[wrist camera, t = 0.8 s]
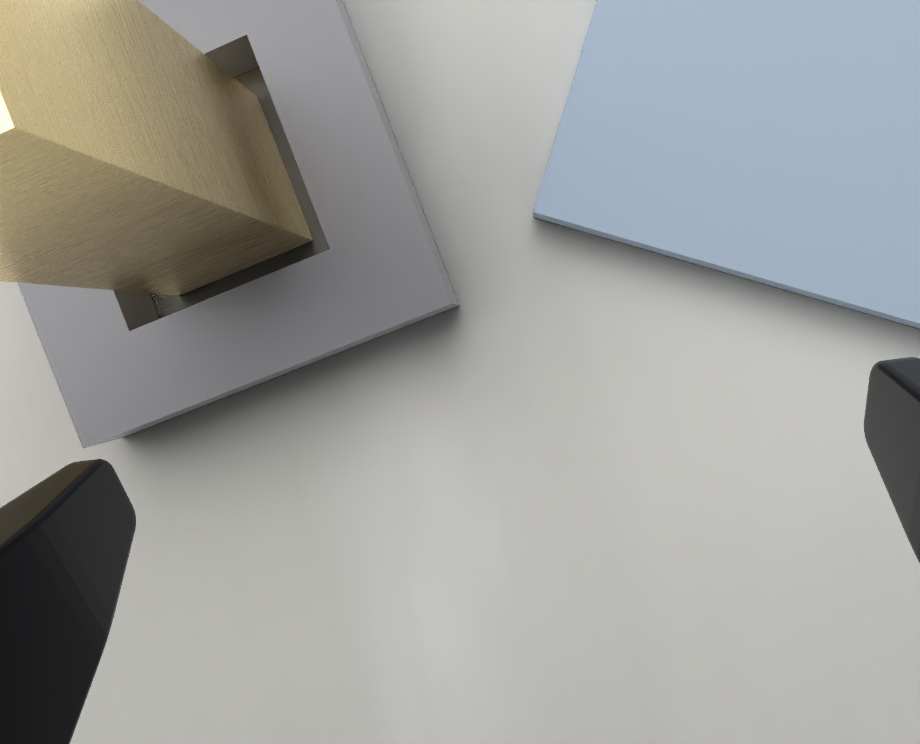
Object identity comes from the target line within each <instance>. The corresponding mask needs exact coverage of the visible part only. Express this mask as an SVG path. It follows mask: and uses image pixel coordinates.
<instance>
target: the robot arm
mask: <svg viewBox="0 0 920 744" xmlns="http://www.w3.org/2000/svg"><path fill="white" fill-rule="evenodd" d="M864 432H865V437H866V441H867V444H868V447H869V449H870V451H871V454H872V456H873V458H874V461H875V463H876V465H877V468H878V470H879V472H880V475H881V477H882V479H883V482H884V484H885V486H886V489H887V491H888V493H889V496H890V498H891V500H892V503H893V505H894V507H895V510H896V512H897V514H898V517H899V519H900V521H901V524H902V526H903V528H904V531H905V533H906V535H907V537H908V540H909V542H910V544H911V546H912V548H913V550H914V553H915V555H916V557H917V559H918V561H919V562H920V359H919V358H914V357H908V358H900V359H893V360H885V361H879V362H877V363H876V364H875V365H874V366H873V367H872V370H871V372H870V377H869V385H868V393H867V402H866V410H865V418H864ZM135 527H136V515H135V511H134V508H133V506H132V504H131V502H130V500H129V498H128V496H127V494H126V492H125V490H124V488H123V486H122V484H121V482H120V480H119V478H118V476H117V474H116V472H115V470H114V468H113V467H112V465H111V464H110V463H109V462H107V461H105V460H102V459H96V460H88V461H80V462H74V463H71V464H68V465H67V466H65V467H64V468H62V469H60V470H59V471H57V472H56V473H54V474H53V475H51V476H50V477H48V478H46V479H45V480H43V481H42V482H40V483H39V484H37V485H35V486H34V487H32V488H31V489H29V490H28V491H26V492H25V493H23V494H21V495H20V496H18V497H17V498H15V499H14V500H12V501H10V502H9V503H7V504H6V505H4V506H3V507H1V508H0V744H70V741H71V738H72V736H73V733H74V730H75V728H76V725H77V722H78V719H79V717H80V714H81V711H82V708H83V706H84V703H85V700H86V697H87V695H88V692H89V689H90V686H91V684H92V681H93V678H94V676H95V673H96V670H97V667H98V665H99V662H100V659H101V656H102V653H103V650H104V647H105V644H106V641H107V638H108V635H109V631H110V628H111V624H112V621H113V617H114V613H115V609H116V605H117V601H118V597H119V593H120V589H121V585H122V581H123V577H124V573H125V569H126V565H127V561H128V557H129V553H130V549H131V545H132V541H133V537H134V532H135Z"/></svg>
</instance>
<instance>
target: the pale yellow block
mask: <svg viewBox="0 0 920 744" xmlns="http://www.w3.org/2000/svg"><path fill="white" fill-rule="evenodd" d="M310 241H313V238H312V236H311V233H310V231H309V228H308V225H307V223H306V220H305V218H304V215H303V212H302V210H301V207H300V205H299V202H298V200H297V197H296V194H295V192H294V189H293V187H292V184H291V181H290V179H289V176H288V174H287V171H286V168H285V166H284V163H283V161H282V158H281V156H280V153H279V150H278V148H277V145H276V143H275V140H274V137H273V135H272V132H271V130H270V127H269V125H268V122H267V119H266V117H265V114H264V112H263V109H262V106H261V104H260V101H259V99H258V97H257V96H255V95H254V94H253V93H252V92H250V91H249V90H248V89H247V88H246V87H244V86H243V85H242V84H241V83H239V82H238V81H237V80H236V79H234V78H233V77H232V76H231V75H229V74H228V73H227V72H226V71H225V70H223V69H222V68H221V67H220V66H218V65H217V64H216V63H215V62H213V61H212V60H211V59H210V58H208V57H207V56H206V55H205V54H204V53H202V52H201V51H200V50H199V49H197V48H196V47H195V46H194V45H192V44H191V43H190V42H189V41H188V40H186V39H185V38H184V37H183V36H181V35H180V34H179V33H178V32H176V31H175V30H174V29H173V28H171V27H170V26H169V25H168V24H167V23H165V22H164V21H163V20H162V19H160V18H159V17H158V16H157V15H155V14H154V13H153V12H152V11H150V10H149V9H148V8H147V7H146V6H144V5H143V4H142V3H141V2H139V1H138V0H0V281H8V282H20V283H32V284H43V285H55V286H67V287H79V288H91V289H103V290H115V291H127V292H139V293H151V294H163V295H175V296H179V295H182V294H184V293H187V292H189V291H192V290H194V289H196V288H199V287H201V286H204V285H206V284H209V283H211V282H213V281H216V280H218V279H221V278H223V277H226V276H228V275H230V274H233V273H235V272H238V271H240V270H242V269H245V268H247V267H250V266H252V265H255V264H257V263H259V262H262V261H264V260H267V259H269V258H272V257H274V256H276V255H279V254H281V253H284V252H286V251H289V250H291V249H293V248H296V247H298V246H301V245H303V244H306V243H308V242H310Z"/></svg>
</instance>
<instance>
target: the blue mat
mask: <svg viewBox="0 0 920 744" xmlns="http://www.w3.org/2000/svg"><path fill="white" fill-rule="evenodd" d="M533 217H535V218H539V219H542V220H545V221H549V222H552V223H556V224H559V225H563V226H566V227H570V228H573V229H577V230H580V231H584V232H587V233H590V234H594V235H597V236H601V237H604V238H608V239H611V240H615V241H618V242H622V243H625V244H628V245H632V246H635V247H639V248H642V249H646V250H649V251H653V252H656V253H660V254H663V255H666V256H670V257H673V258H677V259H680V260H684V261H687V262H691V263H694V264H698V265H701V266H704V267H708V268H711V269H715V270H718V271H722V272H725V273H729V274H732V275H736V276H739V277H742V278H746V279H749V280H753V281H756V282H760V283H763V284H767V285H770V286H774V287H777V288H781V289H784V290H787V291H791V292H794V293H798V294H801V295H805V296H808V297H812V298H815V299H819V300H822V301H825V302H829V303H832V304H836V305H839V306H843V307H846V308H850V309H853V310H857V311H860V312H863V313H867V314H870V315H874V316H877V317H881V318H884V319H888V320H891V321H895V322H898V323H901V324H905V325H908V326H912V327H915V328H919V329H920V0H597V2H596V6H595V9H594V12H593V16H592V19H591V22H590V26H589V29H588V32H587V35H586V39H585V42H584V45H583V49H582V52H581V55H580V58H579V62H578V65H577V68H576V72H575V75H574V78H573V82H572V85H571V88H570V91H569V95H568V98H567V101H566V105H565V108H564V111H563V114H562V118H561V121H560V124H559V128H558V131H557V134H556V138H555V141H554V144H553V147H552V151H551V154H550V157H549V161H548V164H547V167H546V171H545V174H544V177H543V180H542V184H541V187H540V190H539V194H538V197H537V200H536V203H535V207H534V210H533Z"/></svg>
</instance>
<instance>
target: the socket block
mask: <svg viewBox="0 0 920 744" xmlns="http://www.w3.org/2000/svg"><path fill="white" fill-rule="evenodd" d="M138 1H139V2H141V3H142V4H143V5H144V6H146V7H147V8H148V9H149V10H150V11H152V12H153V13H154V14H155V15H157V16H158V17H159V18H160V19H162V20H163V21H164V22H165V23H167V24H168V25H169V26H170V27H171V28H173V29H174V30H175V31H176V32H178V33H179V34H180V35H181V36H183V37H184V38H185V39H186V40H188V41H189V42H190V43H191V44H192V45H194V46H195V47H196V48H197V49H199V50H200V51H201V52H202V53H204V54H205V55H206V56H207V57H208V58H210V59H211V60H212V61H213V62H215V63H216V64H217V65H218V66H220V67H221V68H222V69H223V70H225V71H226V72H227V73H228V74H229V75H231V76H232V77H233V78H234V77H236V76H238V75H241V74H243V73H245V72H247V71H250V70H252V69H254V68H256V67H260V70H261V73H262V75H263V78H264V80H265V83H266V86H267V88H268V91H269V93H270V96H271V98H272V101H273V104H274V106H275V109H276V111H277V114H278V117H279V119H280V122H281V124H282V127H283V129H284V132H285V135H286V137H287V140H288V142H289V145H290V148H291V150H292V153H293V155H294V158H295V161H296V163H297V166H298V168H299V171H300V173H301V176H302V179H303V181H304V184H305V186H306V189H307V192H308V194H309V197H310V199H311V202H312V205H313V207H314V210H315V212H316V215H317V217H318V220H319V223H320V225H321V228H322V230H323V233H324V236H325V238H326V241H327V243H328V246H329V248H330V249H329V250H326V251H324V252H321V253H319V254H316V255H314V256H311V257H309V258H307V259H304V260H302V261H299V262H297V263H294V264H292V265H290V266H287V267H285V268H282V269H280V270H277V271H275V272H272V273H270V274H268V275H265V276H263V277H260V278H258V279H255V280H253V281H251V282H248V283H246V284H243V285H241V286H238V287H236V288H233V289H231V290H229V291H226V292H224V293H221V294H219V295H216V296H214V297H211V298H209V299H207V300H204V301H202V302H199V303H197V304H194V305H192V306H190V307H187V308H185V309H182V310H180V311H177V312H175V313H172V314H170V315H168V316H165V317H163V318H159V316H158V313H157V311H156V308H155V306H154V303H153V300H152V298H151V295H150V293H139V292H127V291H115V290H103V289H91V288H79V287H67V286H55V285H43V284H32V283H20V282H18V285H19V287H20V290H21V293H22V295H23V298H24V300H25V303H26V305H27V308H28V310H29V313H30V315H31V318H32V320H33V323H34V325H35V328H36V331H37V333H38V336H39V338H40V341H41V343H42V346H43V348H44V351H45V353H46V356H47V358H48V361H49V363H50V366H51V369H52V371H53V374H54V376H55V379H56V381H57V384H58V386H59V389H60V391H61V394H62V396H63V399H64V401H65V404H66V407H67V409H68V412H69V414H70V417H71V419H72V422H73V424H74V427H75V429H76V432H77V434H78V437H79V439H80V442H81V445H82V447H83V448H86V447H90V446H93V445H97V444H101V443H105V442H108V441H112V440H116V439H119V438H123V437H125V436H128V435H130V434H133V433H135V432H138V431H140V430H143V429H146V428H148V427H151V426H153V425H156V424H158V423H161V422H163V421H166V420H168V419H171V418H174V417H176V416H179V415H181V414H184V413H186V412H189V411H191V410H194V409H196V408H199V407H202V406H204V405H207V404H209V403H212V402H214V401H217V400H219V399H222V398H225V397H227V396H230V395H232V394H235V393H237V392H240V391H242V390H245V389H247V388H250V387H253V386H255V385H258V384H260V383H263V382H265V381H268V380H270V379H273V378H275V377H278V376H281V375H283V374H286V373H288V372H291V371H293V370H296V369H298V368H301V367H303V366H306V365H309V364H311V363H314V362H316V361H319V360H321V359H324V358H326V357H329V356H331V355H334V354H337V353H339V352H342V351H344V350H347V349H349V348H352V347H354V346H357V345H359V344H362V343H365V342H367V341H370V340H372V339H375V338H377V337H380V336H382V335H385V334H388V333H390V332H393V331H395V330H398V329H400V328H403V327H405V326H408V325H410V324H413V323H416V322H418V321H421V320H423V319H426V318H428V317H431V316H433V315H436V314H438V313H441V312H444V311H446V310H449V309H451V308H454V307H456V306H459V302H458V300H457V297H456V295H455V292H454V289H453V287H452V284H451V281H450V279H449V276H448V274H447V271H446V268H445V266H444V263H443V261H442V258H441V255H440V253H439V250H438V248H437V245H436V242H435V240H434V237H433V235H432V232H431V229H430V227H429V224H428V222H427V219H426V216H425V214H424V211H423V209H422V206H421V203H420V201H419V198H418V195H417V193H416V190H415V188H414V185H413V182H412V180H411V177H410V175H409V172H408V169H407V167H406V164H405V162H404V159H403V156H402V154H401V151H400V149H399V146H398V143H397V141H396V138H395V136H394V133H393V130H392V128H391V125H390V123H389V120H388V117H387V115H386V112H385V110H384V107H383V104H382V102H381V99H380V96H379V94H378V91H377V89H376V86H375V83H374V81H373V78H372V76H371V73H370V70H369V68H368V65H367V63H366V60H365V57H364V55H363V52H362V50H361V47H360V44H359V42H358V39H357V37H356V34H355V31H354V29H353V26H352V24H351V21H350V18H349V16H348V13H347V11H346V8H345V5H344V3H343V0H138Z"/></svg>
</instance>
